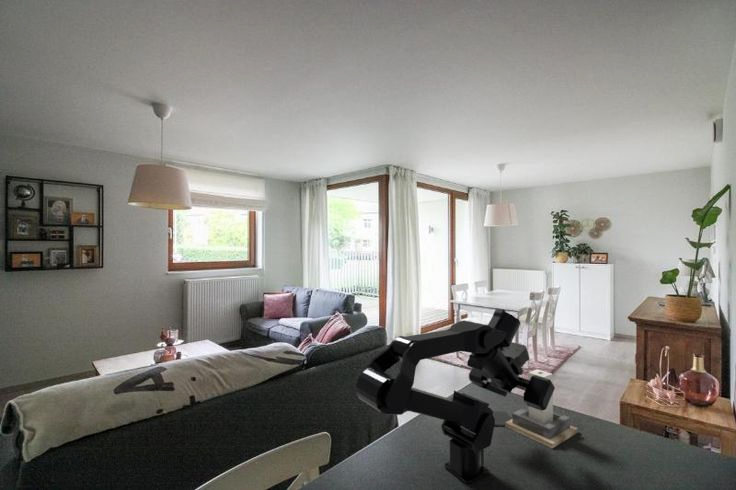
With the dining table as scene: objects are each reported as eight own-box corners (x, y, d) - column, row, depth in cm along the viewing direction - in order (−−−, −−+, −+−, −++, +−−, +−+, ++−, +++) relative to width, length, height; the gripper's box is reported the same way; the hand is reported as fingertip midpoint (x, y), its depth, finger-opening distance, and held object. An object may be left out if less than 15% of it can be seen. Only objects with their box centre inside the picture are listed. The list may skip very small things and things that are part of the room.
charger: (544, 431, 85) (543, 376, 85) (528, 424, 89) (528, 371, 89) (553, 426, 88) (552, 373, 88) (537, 419, 91) (537, 368, 91)
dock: (552, 448, 80) (552, 432, 80) (505, 426, 90) (505, 412, 90) (577, 432, 86) (577, 418, 86) (531, 413, 96) (531, 400, 96)
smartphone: (452, 411, 97) (507, 410, 97) (452, 414, 97) (507, 414, 97) (458, 424, 90) (517, 424, 89) (458, 428, 90) (517, 427, 89)
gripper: (549, 342, 73) (576, 384, 79) (476, 326, 88) (502, 362, 95) (528, 389, 69) (558, 429, 75) (454, 363, 84) (484, 399, 90)
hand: (523, 401), depth 84 cm, fingers open, 9 cm apart
